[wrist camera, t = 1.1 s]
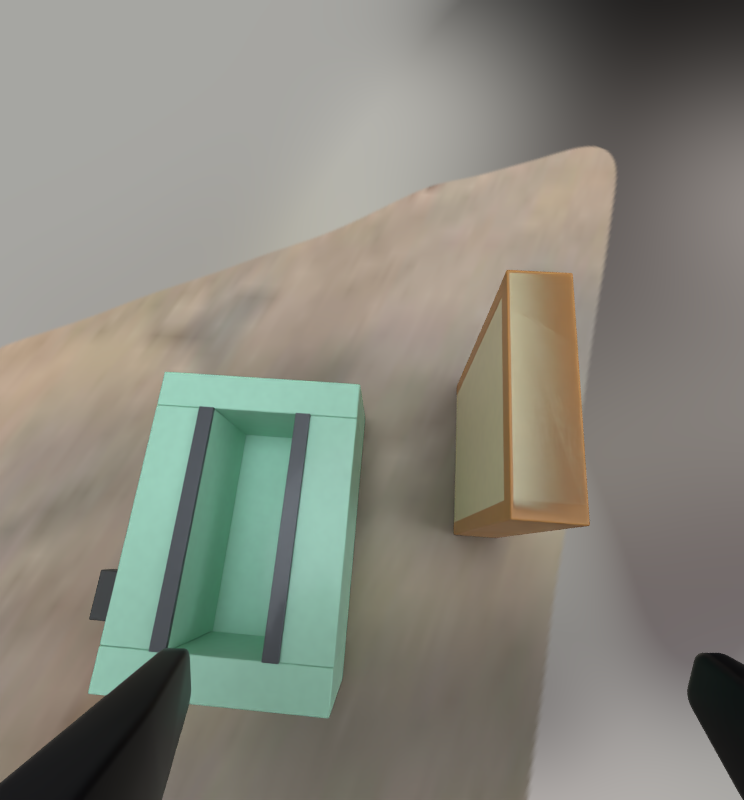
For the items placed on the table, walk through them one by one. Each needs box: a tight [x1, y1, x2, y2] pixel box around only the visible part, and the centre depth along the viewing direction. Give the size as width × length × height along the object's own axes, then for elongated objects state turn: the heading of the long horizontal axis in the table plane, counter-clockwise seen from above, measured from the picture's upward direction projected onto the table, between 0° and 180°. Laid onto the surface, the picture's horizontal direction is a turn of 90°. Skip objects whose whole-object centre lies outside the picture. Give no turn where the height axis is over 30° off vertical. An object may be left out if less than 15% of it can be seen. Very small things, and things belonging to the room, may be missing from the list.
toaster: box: [88, 372, 365, 718], centre depth 20 cm, size 12×10×5 cm
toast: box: [454, 270, 590, 538], centre depth 18 cm, size 8×2×10 cm, turn 175°
